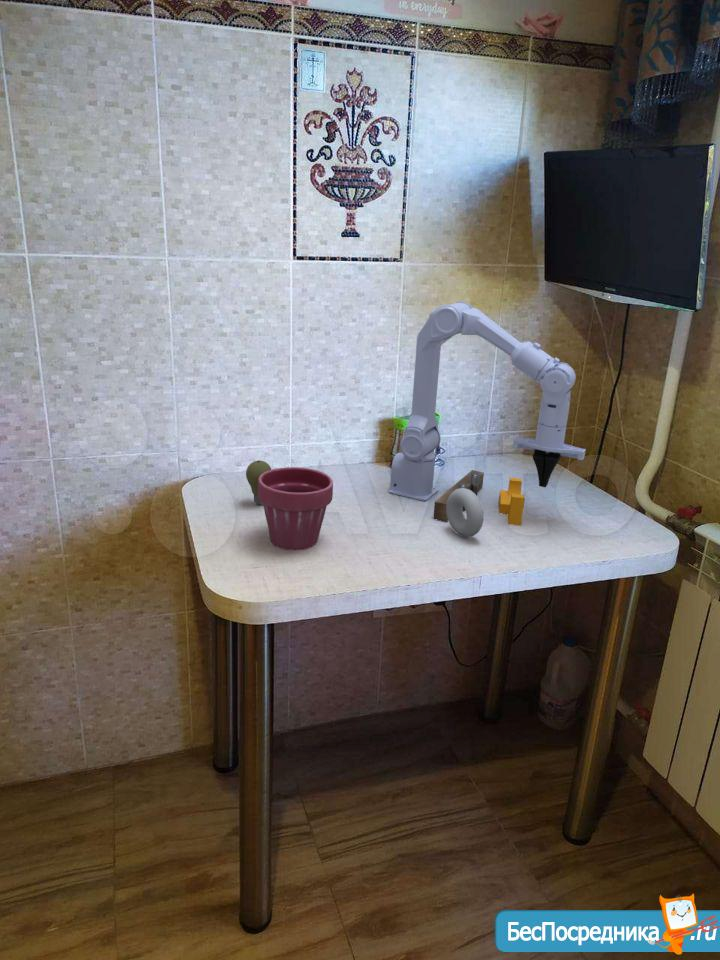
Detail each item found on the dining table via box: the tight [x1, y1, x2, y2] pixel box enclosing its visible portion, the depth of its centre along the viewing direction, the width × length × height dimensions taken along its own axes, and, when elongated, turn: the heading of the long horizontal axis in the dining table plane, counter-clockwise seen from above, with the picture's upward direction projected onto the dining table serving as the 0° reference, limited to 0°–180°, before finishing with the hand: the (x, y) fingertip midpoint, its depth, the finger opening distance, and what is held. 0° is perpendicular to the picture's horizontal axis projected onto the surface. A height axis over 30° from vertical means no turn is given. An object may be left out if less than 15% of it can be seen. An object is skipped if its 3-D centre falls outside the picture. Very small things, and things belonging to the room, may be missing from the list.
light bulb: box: [245, 459, 273, 506], centre depth 153 cm, size 6×6×10 cm
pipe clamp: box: [498, 477, 526, 526], centre depth 156 cm, size 12×4×6 cm, turn 171°
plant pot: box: [258, 466, 334, 551], centre depth 137 cm, size 14×14×13 cm
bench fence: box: [433, 469, 485, 523], centre depth 160 cm, size 4×24×6 cm, turn 153°
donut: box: [446, 488, 485, 538], centre depth 143 cm, size 10×3×10 cm, turn 30°
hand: (543, 485), depth 151 cm, fingers closed
